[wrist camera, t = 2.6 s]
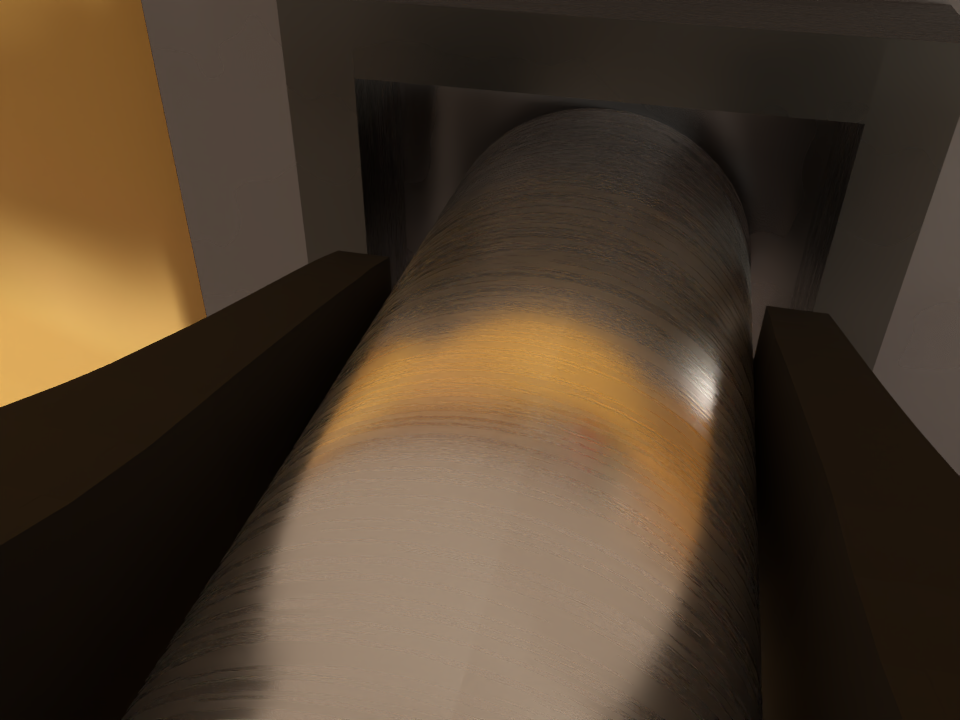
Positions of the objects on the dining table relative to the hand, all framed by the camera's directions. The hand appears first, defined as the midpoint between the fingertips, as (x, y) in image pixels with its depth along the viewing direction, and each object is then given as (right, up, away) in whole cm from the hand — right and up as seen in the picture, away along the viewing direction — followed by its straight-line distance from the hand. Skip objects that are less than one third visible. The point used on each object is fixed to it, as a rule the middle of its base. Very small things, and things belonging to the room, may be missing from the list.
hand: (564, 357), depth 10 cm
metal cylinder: (+1, +1, +2) cm, 2 cm away
